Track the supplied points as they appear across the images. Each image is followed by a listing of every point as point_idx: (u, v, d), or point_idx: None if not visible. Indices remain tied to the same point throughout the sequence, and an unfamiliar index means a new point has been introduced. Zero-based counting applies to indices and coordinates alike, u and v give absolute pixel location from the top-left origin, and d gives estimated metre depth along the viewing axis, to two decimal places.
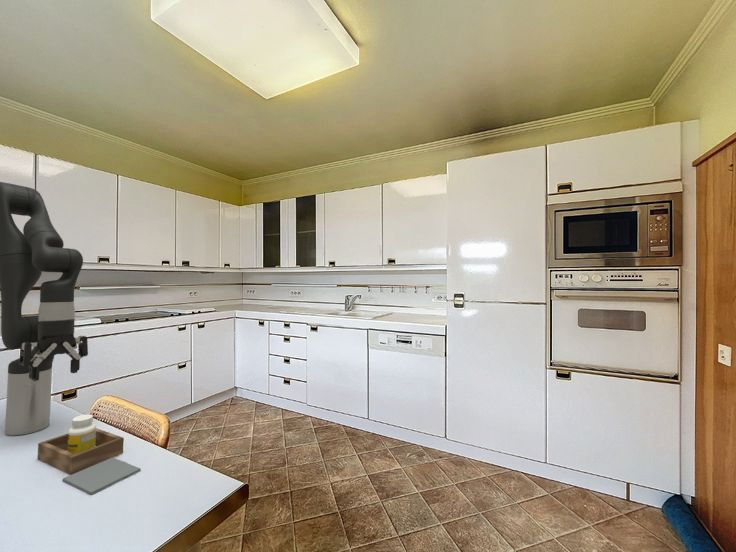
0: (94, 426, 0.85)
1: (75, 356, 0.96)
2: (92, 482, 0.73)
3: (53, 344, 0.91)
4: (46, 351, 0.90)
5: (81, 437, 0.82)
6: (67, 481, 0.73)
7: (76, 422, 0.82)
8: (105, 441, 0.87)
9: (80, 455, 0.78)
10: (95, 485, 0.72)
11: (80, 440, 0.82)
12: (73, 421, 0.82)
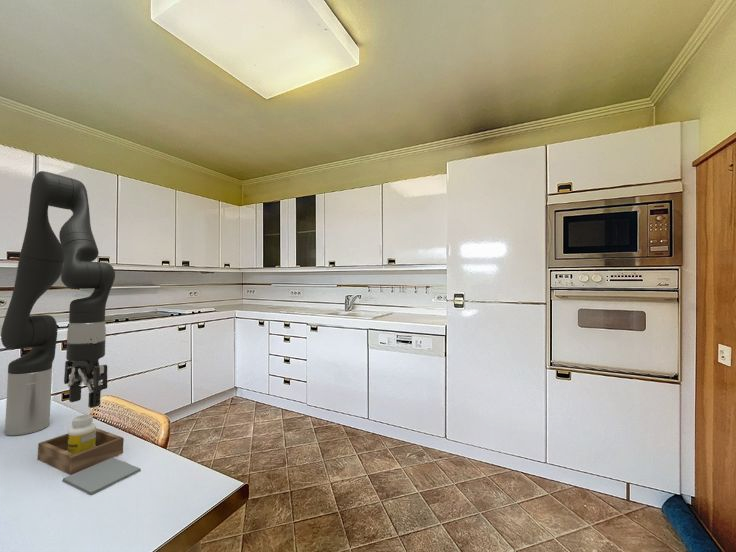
0: (94, 426, 0.85)
1: None
2: (92, 482, 0.73)
3: None
4: None
5: (81, 437, 0.82)
6: (67, 481, 0.73)
7: (76, 422, 0.82)
8: (105, 441, 0.87)
9: (80, 455, 0.78)
10: (95, 485, 0.72)
11: (80, 440, 0.82)
12: (73, 421, 0.82)
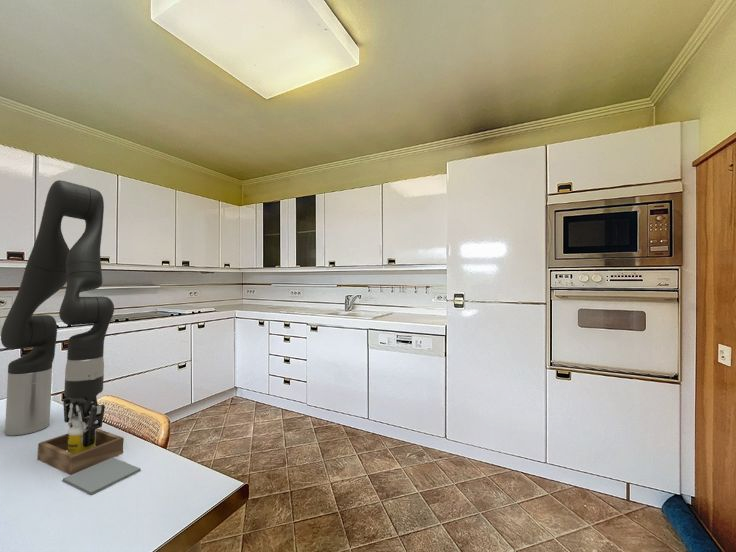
0: None
1: None
2: (92, 482, 0.73)
3: None
4: None
5: (81, 436, 0.82)
6: (67, 481, 0.73)
7: (76, 422, 0.82)
8: (105, 441, 0.87)
9: (80, 455, 0.78)
10: (95, 485, 0.72)
11: (80, 440, 0.82)
12: (73, 421, 0.82)
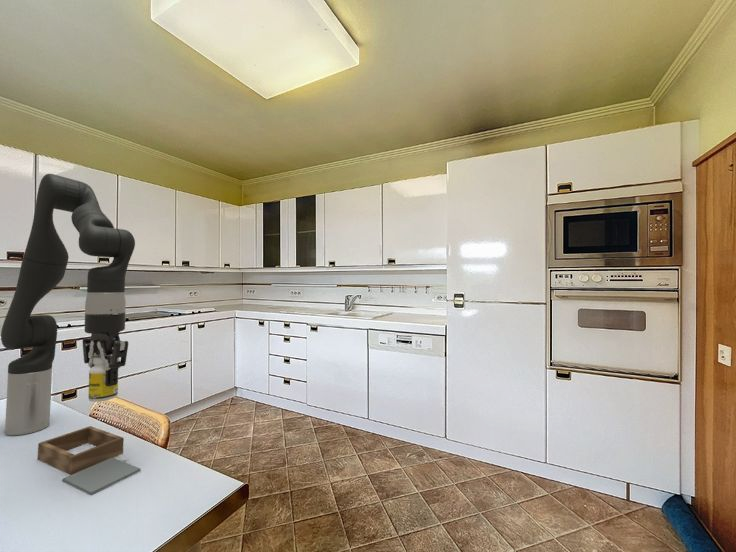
0: None
1: None
2: (92, 482, 0.73)
3: None
4: None
5: (103, 375, 0.76)
6: (67, 481, 0.73)
7: (98, 359, 0.76)
8: (105, 441, 0.87)
9: (80, 455, 0.78)
10: (95, 485, 0.72)
11: (103, 379, 0.76)
12: (94, 359, 0.76)
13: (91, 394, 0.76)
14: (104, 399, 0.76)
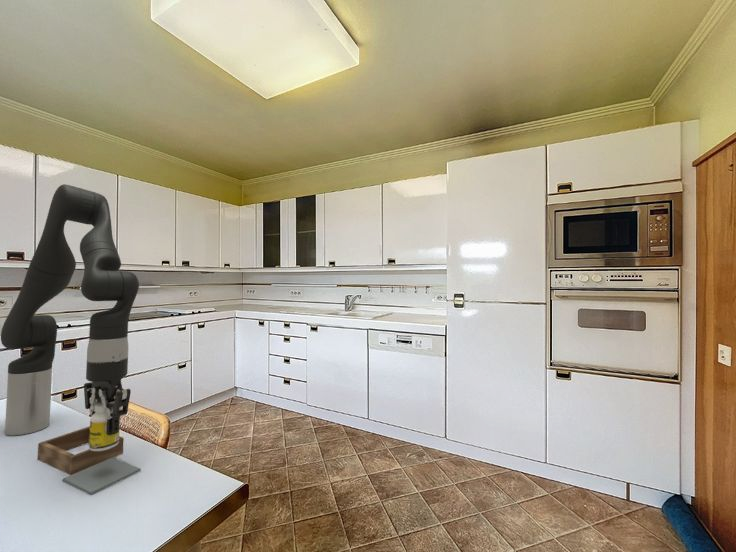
0: None
1: None
2: (92, 482, 0.73)
3: None
4: None
5: (104, 424, 0.74)
6: (67, 481, 0.73)
7: (99, 408, 0.74)
8: None
9: (80, 455, 0.78)
10: (95, 485, 0.72)
11: (104, 428, 0.74)
12: (96, 407, 0.75)
13: (92, 443, 0.74)
14: (105, 448, 0.74)
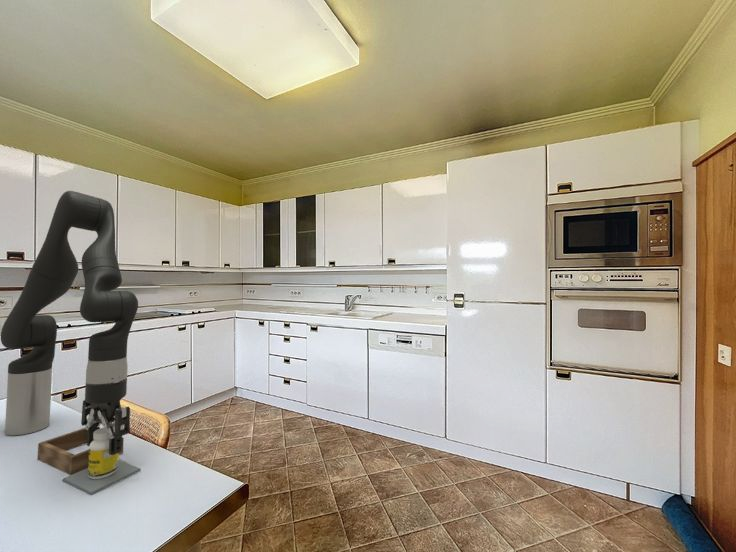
0: None
1: None
2: (92, 482, 0.73)
3: None
4: None
5: (103, 452, 0.74)
6: (67, 481, 0.73)
7: (98, 435, 0.74)
8: None
9: (80, 455, 0.78)
10: (95, 485, 0.72)
11: (103, 455, 0.74)
12: (95, 434, 0.74)
13: (91, 471, 0.74)
14: (104, 476, 0.74)
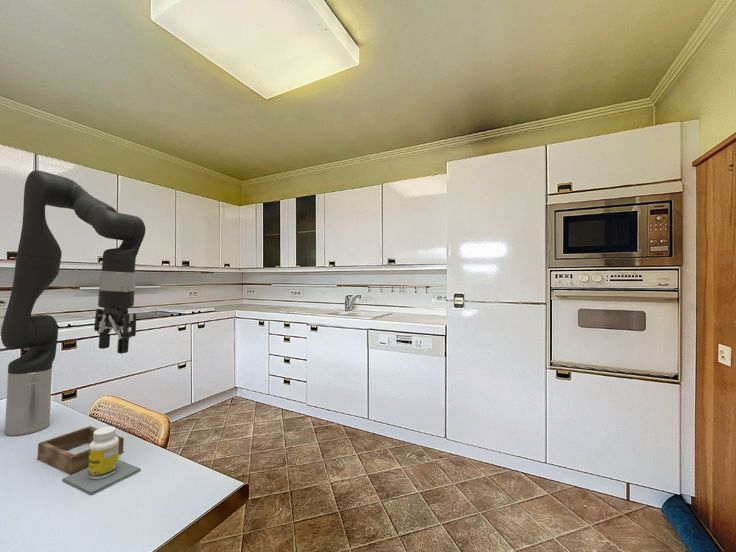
0: (117, 440, 0.77)
1: None
2: (92, 482, 0.73)
3: None
4: None
5: (103, 452, 0.74)
6: (67, 481, 0.73)
7: (98, 435, 0.74)
8: None
9: (80, 455, 0.78)
10: (95, 485, 0.72)
11: (103, 455, 0.74)
12: (95, 434, 0.74)
13: (91, 471, 0.74)
14: (104, 476, 0.74)
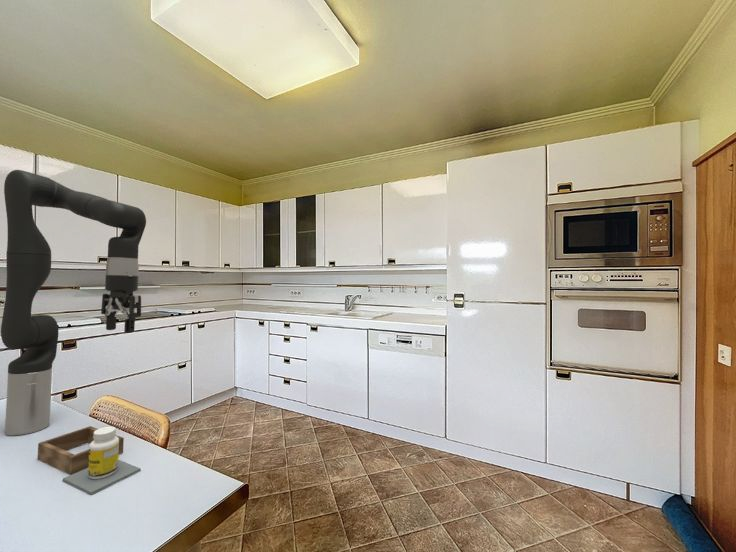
0: (117, 440, 0.77)
1: None
2: (92, 482, 0.73)
3: None
4: None
5: (103, 452, 0.74)
6: (67, 481, 0.73)
7: (98, 435, 0.74)
8: None
9: (80, 455, 0.78)
10: (95, 485, 0.72)
11: (103, 455, 0.74)
12: (95, 434, 0.74)
13: (91, 471, 0.74)
14: (104, 476, 0.74)
